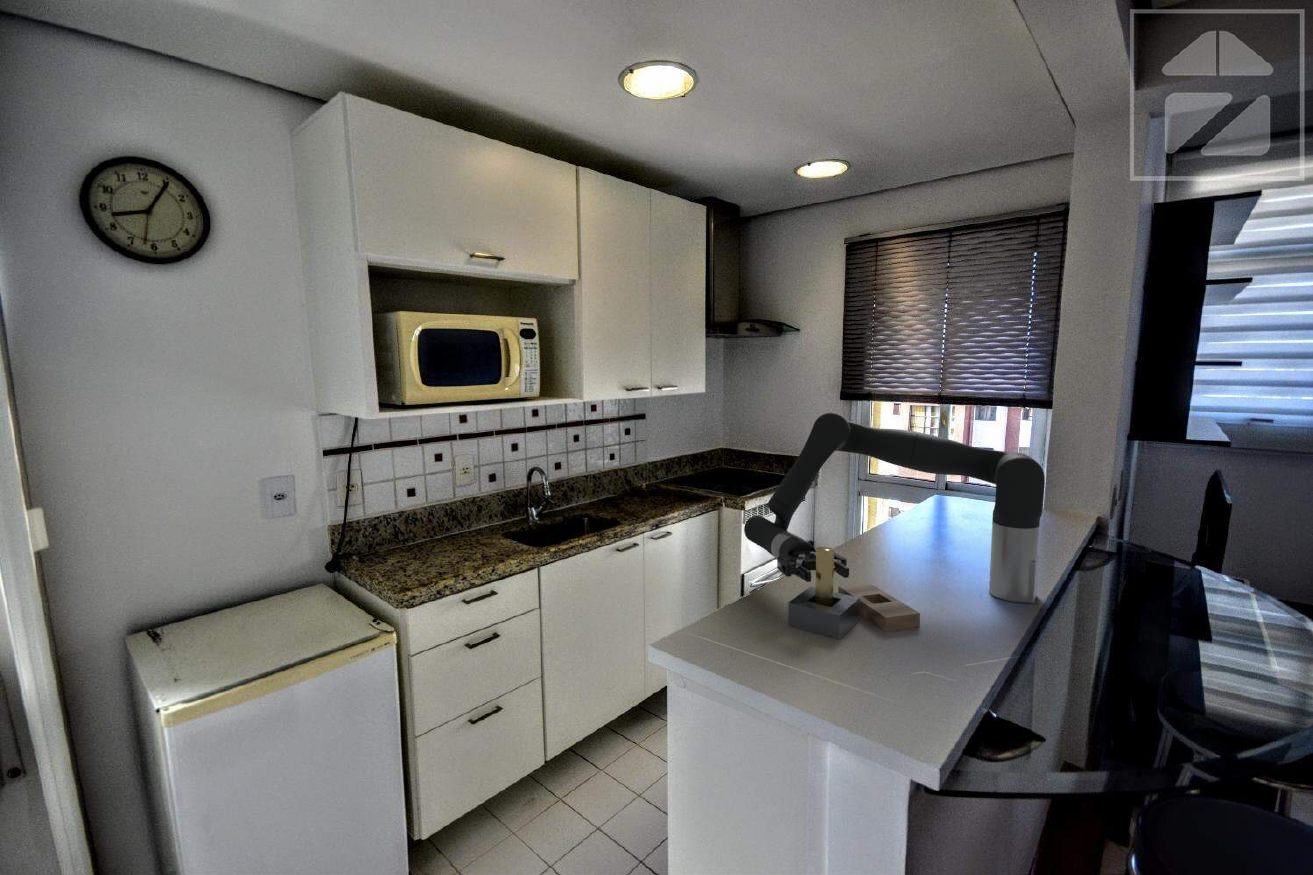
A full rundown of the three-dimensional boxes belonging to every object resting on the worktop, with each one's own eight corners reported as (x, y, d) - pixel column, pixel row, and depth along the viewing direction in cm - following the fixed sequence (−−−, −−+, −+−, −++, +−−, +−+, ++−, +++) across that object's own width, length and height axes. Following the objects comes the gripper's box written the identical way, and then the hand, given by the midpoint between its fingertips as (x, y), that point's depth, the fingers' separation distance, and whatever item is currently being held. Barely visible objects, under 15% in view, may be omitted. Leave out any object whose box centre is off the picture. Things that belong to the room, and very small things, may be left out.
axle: (835, 621, 122) (836, 548, 120) (828, 627, 119) (830, 552, 117) (819, 617, 124) (820, 545, 122) (812, 623, 121) (813, 549, 119)
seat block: (859, 620, 122) (859, 597, 121) (839, 639, 114) (839, 615, 113) (810, 607, 129) (810, 586, 128) (788, 625, 120) (788, 602, 120)
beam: (838, 598, 134) (838, 585, 134) (868, 594, 136) (868, 582, 135) (885, 631, 117) (885, 617, 116) (919, 626, 118) (920, 613, 118)
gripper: (764, 538, 132) (797, 560, 116) (820, 533, 135) (859, 554, 120) (764, 570, 133) (796, 596, 117) (820, 564, 136) (859, 589, 120)
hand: (828, 575), depth 118 cm, fingers open, 8 cm apart
